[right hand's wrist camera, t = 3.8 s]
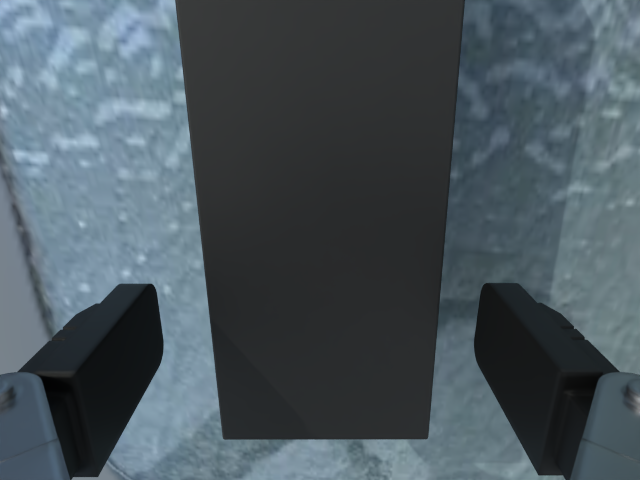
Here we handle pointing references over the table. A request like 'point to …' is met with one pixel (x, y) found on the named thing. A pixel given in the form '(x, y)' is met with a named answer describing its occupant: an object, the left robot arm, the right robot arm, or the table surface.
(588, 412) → the right robot arm
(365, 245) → the box
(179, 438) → the table surface
